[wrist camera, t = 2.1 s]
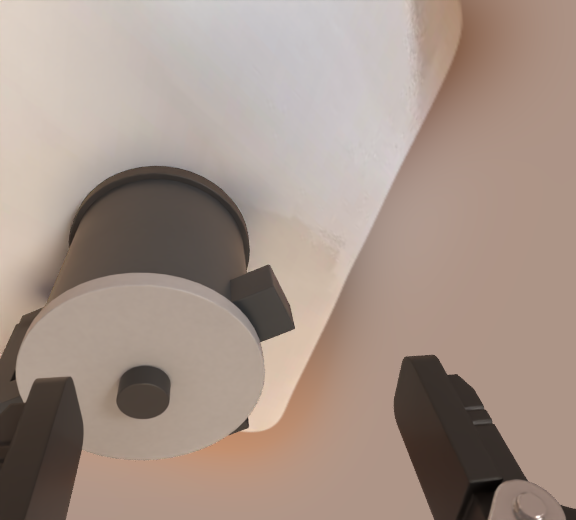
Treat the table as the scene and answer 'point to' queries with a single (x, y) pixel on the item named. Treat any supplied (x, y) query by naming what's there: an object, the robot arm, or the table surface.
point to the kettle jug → (153, 318)
